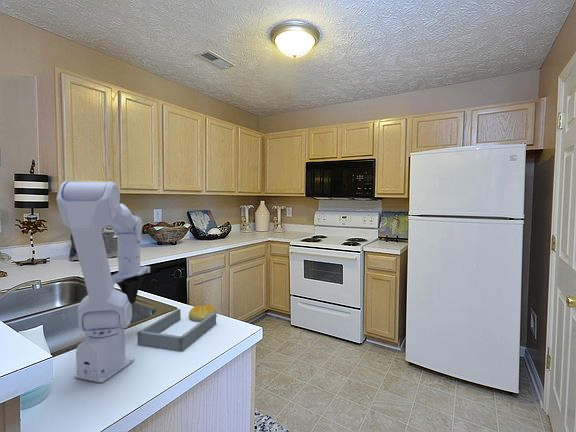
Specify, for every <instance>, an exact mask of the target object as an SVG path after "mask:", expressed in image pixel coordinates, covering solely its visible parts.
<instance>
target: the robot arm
mask: <svg viewBox="0 0 576 432" xmlns="http://www.w3.org/2000/svg"><path fill="white" fill-rule="evenodd" d="M120 192H121V191H120V189H119V187H118V185H117V184H116V183H115V182H114V181H101V182H100V181H71V180H70V181H69V180H65V181H63V182H61V185H60V186H59V187H58V190H57V194H56V203H57V204H56V205H57V208H58V211H59V214H60V218H61V221H62V224H63V225H64V226H66V227H67V228H70V232H71V235H72V240H73V243H74V246H75V247H74V248H75V251H76V255H77V258H78V262H79V265H80V269H81V272H82V273H81V274H82V276H83V279H84V283H85V287H86V291H87V295H86V296H85V297H83V298H82V300H81V301H80V303H79V304H78V307H77V314H78V315H77V318H78V319H77V324H78V327H79V329H80V330H81V332H84V335H85V337H86V338H85V339H84V340H83V341H81V342H80V343H79V344H78V345H77V347H76V348H75V349H76V350H75V356H76V358H75V362H76V363H75V364H76V373H75V374H74V376H73V377H74V378H76V379H80V380H81V379H82V380H86V381H91V382H96V383H104V382H106V381H107V380H109V379H110V378H111V377H113V376H114V375H116V374H117V373H119V372H120V371H121V370H123V369H124V368H126V367H127V366H128V365H131V364H132V363H133V362H134V361H135V358H133V357H126V339H125V336H126V334H125V331H126V330H125V329H127V328H128V327H129V326H130V324H131V321H132V317H133V305H132V304H134V303H136V301H137V297H138V293H139V290H140V289H139V288H140V287H141V285H142V283H143V281H144V277H143V276H142V275H144V274H149V273H151V266H149V265H148V266H146V265H144V266H141V244H140V243H141V242H140V241H142V231H143V221H142V218H141V217H140V216H138V215H135V214H133V213H132V211H131V210H130V209H129V207H127V206H126V205H125V204H124V203H120V201H121V195H120ZM110 225H111V227H112V230H113V233H114V235H115V236H116V238H117V263H118V265H117V268H118V271H117V272H116V273H114V274H113V275H112V274H111V273H112V272H111V269H110V263H109V258H108V254H107V249H106V244H105V241H104V236H103V232H102V231H103V229H104V228H106V227H108V226H110ZM114 285H117V286H118V287H119V289H120V290H121V291H120V290H117V289H116V288H115V287H114Z"/></svg>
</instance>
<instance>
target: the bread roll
mask: <svg viewBox="0 0 576 432" xmlns="http://www.w3.org/2000/svg"><path fill="white" fill-rule="evenodd" d="M212 313H216V314H217V308H216V307H215V306H214V305H212V304H205V305H195V306H194V307H192V308H191V309H190V310H189V312H188V319H190V320H191V321H194V322H201V321H203V320H204V319H205V318H207V317H208V316H209V315H211V314H212Z"/></svg>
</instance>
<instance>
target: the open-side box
mask: <svg viewBox="0 0 576 432" xmlns="http://www.w3.org/2000/svg"><path fill="white" fill-rule="evenodd" d="M181 319H182V318H181V308H177V309H174V310H173V311H171V312H170V313H168V314H166V315H165V316H163V317H161V318H159V319H158V320H155V321H154V322H152V323H150V324H149V325H147V326H146V327H144V328H142V329H140V330H139V331H137V333H136V336H137V338H136V339H137V346H144V347H151V348H157V349H163V350H164V349H165V350H170V351H177V352H184V351H185V350H186V349H188V348H189V347H190V346H191V345H192V344H193V343H195V342H196V341H197V340H198V339H200V338H201V336H203V335H205V333H206V332H208V331H209V330H210V329H212V328H213V327H214V326H215V325H217V312H216V313H212V314H211V315H209V316H208V317H207V318H205V319H204V320H203V321H199V322H198V323H197V324H196V325H194V326H193V327H192V328H190V329H188V331H186V332H185V333H183V334H182V335H173V334H166V333H162V332H163V331H165V330H166V329H167V330H168V328H170V327H172V325H174V324H176V323H178V322H179V321H181Z"/></svg>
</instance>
